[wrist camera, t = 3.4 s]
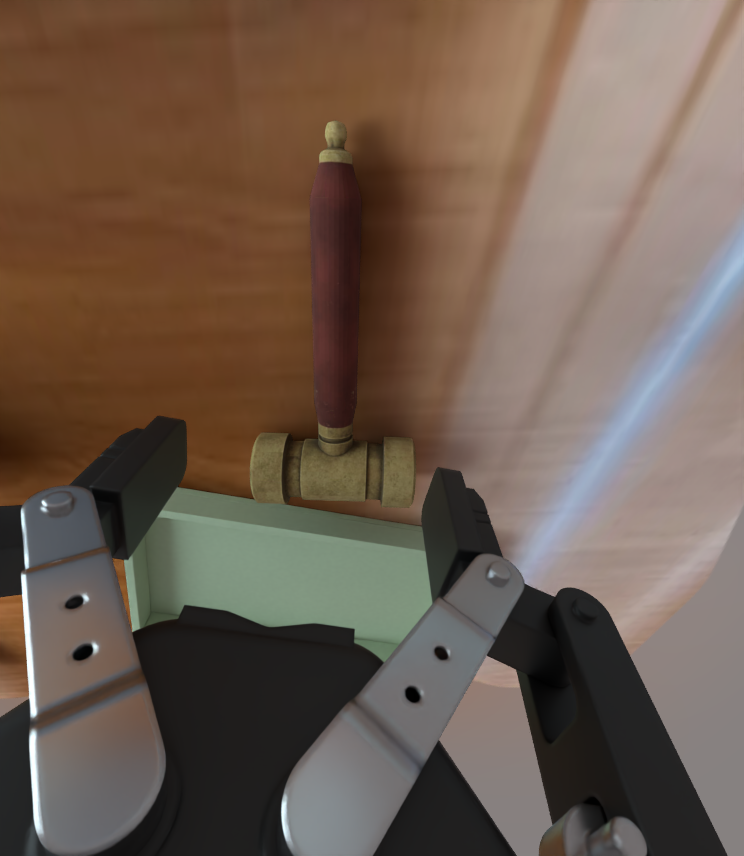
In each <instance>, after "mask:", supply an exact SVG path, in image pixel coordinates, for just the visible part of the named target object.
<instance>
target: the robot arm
mask: <svg viewBox="0 0 744 856" xmlns="http://www.w3.org/2000/svg"><path fill="white" fill-rule="evenodd" d="M186 465H187V429H186V422H185V421H184V420H180V419H175V418H169V417H164V416H157V417H156V418H155V419H154V420H153V421H152V422H151V423H150V424H149V425H148V426H147V427H146V428H145V429H139V428H136V429H134V430H131V431H129V432H127V433H125V434H123V435H121V436H119V437H118V438H117V439H116V440H115V441H114V442H113V443H112V444H111V445H110V447H109V448H107V449H106V450H105V451H104V452H103V453H102V454H101V456H100V457H98V458H97V459H96V460H95V461H93V462H92V463H91V464H90V465H89V466H88V467H87V468H86V469H85V470H84V471H83V472H82V473H81V474H80V475H79V476H78V477H77V478H76V479H75V480H74V481H73V482H72V483H71V484H70V485H66V486H57V487H52V488H48V489H45V490H43V491H40V492H38V493H36V494H34V495H33V496H31V497H30V498H29V499H28V500H27V501H26V502H25V503H24V504H23V505H15V506H0V597H5V596H13V595H23V610H24V624H25V639H26V653H27V668H28V682H29V697H30V698H29V699H28V700H26V701H24V702H23V703H21V704H20V705H18V706H17V707H15V708H14V709H12V710H11V711H9V712H8V713H6V714H5V715H3V716H1V717H0V856H517V855H516V854H515V852H514V851H513V850H512V848H511V847H510V845H509V844H508V842H507V841H506V839H505V838H504V836H503V835H502V833H501V832H500V830H499V829H498V827H497V826H496V824H495V823H494V821H493V820H492V818H491V817H490V815H489V814H488V812H487V811H486V809H485V808H484V806H483V805H482V803H481V802H480V800H479V799H478V797H477V796H476V794H475V793H474V792H473V790H472V789H471V787H470V786H469V784H468V783H467V781H466V780H465V778H464V777H463V775H462V774H461V772H460V771H459V769H458V768H457V766H456V765H455V763H454V762H453V760H452V759H451V757H450V756H449V754H448V753H447V751H446V750H445V748H444V747H443V745H442V744H441V742H440V741H439V738H440V737H441V735H442V733H443V731H444V729H445V728H446V726H447V724H448V722H449V720H450V719H451V717H452V715H453V714H454V712H455V710H456V708H457V707H458V704H459V703H460V701H461V699H462V698H463V696H464V694H465V692H466V691H467V689H468V687H469V686H470V684H471V682H472V680H473V678H474V677H475V675H476V673H477V671H478V670H479V668H480V666H481V664H482V663H483V661H484V659H485V657H486V656H489V657H491V658H493V659H495V660H497V661H499V662H501V663H504V664H506V665H508V666H510V667H512V668H514V669H516V671H517V675H518V679H519V684H520V688H521V692H522V696H523V701H524V705H525V709H526V713H527V718H528V722H529V726H530V730H531V735H532V739H533V743H534V748H535V752H536V756H537V760H538V765H539V769H540V773H541V778H542V782H543V786H544V790H545V795H546V799H547V803H548V807H549V811H550V816H551V820H552V826H551V827H550V828H549V829H548V830H547V831H546V832H545V834H544V835H543V837H542V840H541V842H540V847H539V856H727V854H726V852H725V849H724V847H723V845H722V843H721V841H720V839H719V837H718V835H717V833H716V831H715V829H714V827H713V825H712V823H711V821H710V819H709V817H708V815H707V813H706V811H705V808H704V806H703V805H702V802H701V800H700V798H699V797H698V794H697V792H696V790H695V788H694V786H693V784H692V782H691V780H690V778H689V776H688V774H687V772H686V770H685V767H684V765H683V763H682V762H681V759H680V757H679V755H678V753H677V751H676V749H675V747H674V745H673V743H672V741H671V739H670V737H669V735H668V733H667V731H666V729H665V727H664V725H663V723H662V720H661V718H660V716H659V714H658V712H657V710H656V708H655V706H654V704H653V702H652V700H651V698H650V696H649V694H648V692H647V690H646V688H645V686H644V684H643V682H642V679H641V678H640V675H639V673H638V671H637V670H636V667H635V665H634V663H633V661H632V659H631V657H630V655H629V653H628V651H627V649H626V647H625V645H624V643H623V640H622V638H621V636H620V634H619V632H618V630H617V628H616V626H615V624H614V622H613V620H612V618H611V616H610V614H609V612H608V611H607V610H606V608H605V607H604V606H603V605H602V604H601V603H600V602H599V601H598V600H597V599H595V598H594V597H593V596H591V595H590V594H588V593H586V592H584V591H582V590H579V589H576V588H563V589H561V590H560V591H559V592H558V593H557V595H556V596H555V597H553V596H551V595H549V594H546V593H544V592H542V591H539V590H537V589H535V588H532V587H530V586H528V585H527V584H525V583H524V579H523V577H522V575H521V573H520V572H519V570H518V569H517V568H516V567H515V566H514V565H513V564H512V563H511V562H509V561H508V560H506V559H504V558H503V556H502V553H501V550H500V547H499V544H498V541H497V539H496V536H495V533H494V530H493V527H492V525H491V521H490V518H489V515H487V513H488V512H487V509H486V506H485V503H484V501H483V499H482V498H481V497H480V496H479V495H478V493H477V492H476V491H475V490H474V489H470V488H466V486H465V483H464V479H463V476H462V473H461V472H460V471H456V470H450V469H445V468H440V467H438V468H437V469H436V471H435V473H434V476H433V478H432V481H431V484H430V487H429V490H428V493H427V495H426V498H425V501H424V504H423V508H422V516H421V522H422V530H423V537H424V545H425V552H426V560H427V567H428V574H429V582H430V589H431V597H432V605H431V606H430V607H429V609H428V610H427V611H426V612H425V614H424V615H423V616H422V617H421V618H420V620H419V621H418V622H417V623H416V625H415V626H414V627H413V628H412V629H411V631H410V632H409V633H408V634H407V636H406V637H405V638H404V639H403V640H402V642H401V643H400V644H399V645H398V647H397V648H396V649H395V650H394V651H393V653H392V654H391V655H390V656H389V658H388V659H387V660H386V661H385V662H383V661H382V660H381V659H380V658H379V657H378V656H377V655H375V654H374V653H372V652H371V651H370V650H368V649H366V648H365V647H363V646H361V645H359V644H356V643H354V637H355V629H353V628H346V627H339V626H332V625H325V624H318V623H309V624H299V625H289V626H279V627H267V626H264V625H261V624H259V623H256V622H254V621H251V620H249V619H247V618H244V617H242V616H239V615H237V614H234V613H232V612H229V611H226V610H219V609H212V608H205V607H197V606H190V605H184V607H183V609H182V611H181V613H180V616H179V618H178V619H170V620H165V621H160V622H157V623H154V624H151V625H148V626H145V627H143V628H140V629H138V630H136V631H134V632H132V631H131V627H130V624H129V620H128V616H127V612H126V609H125V605H124V601H123V597H122V594H121V590H120V586H119V582H118V579H117V575H116V571H115V567H114V564H113V560H112V558H116V559H122V560H129V558H130V557H131V556H132V554H133V553H134V551H135V550H136V548H137V547H138V545H139V544H140V542H141V541H142V539H143V538H144V536H145V535H146V533H147V532H148V530H149V529H150V527H151V526H152V524H153V523H154V521H155V520H156V518H157V517H158V515H159V514H160V512H161V511H162V509H163V508H164V506H165V505H166V503H167V502H168V500H169V499H170V497H171V496H172V494H173V493H174V491H175V490H176V488H177V487H178V485H179V484H180V482H181V481H182V479H183V476H184V474H185V470H186Z"/></svg>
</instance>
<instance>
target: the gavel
mask: <svg viewBox="0 0 744 856" xmlns="http://www.w3.org/2000/svg"><path fill="white" fill-rule="evenodd" d="M325 137H326V140H327V143H328V148H327V149H325V150H323V151H322V152H321V153H320V155H319V166H318V170H317V174H316V177H315V181H314V185H313V188H312V192H311V196H310V227H311V271H312V315H313V359H314V403H315V408H316V413H317V418H318V431H319V435H318V439H305V441H293V437H292V435H291V433H266V432H262V433H260V435H259V436H258V437H257V439H256V441H255V443H254V446H253V450H252V456H251V464H250V485H251V491H252V495H253V497H254V499H255V501H256V502H257V503H269V504H287V503H288V501H289V499H290V497H302V499H303V500H330V501H361V502H365V500H366V499H376V500H380V502H381V507H396V508H409V507H410V506H411V505H412V503H413V500H414V493H415V482H416V453H415V445H414V442H413V440H412V439H411V438H410V437H383V441H382V444H375V443H368V442H367V441H358V440H353V435H352V432H353V418H354V413H355V408H356V404H357V369H358V329H359V290H360V250H361V211H362V200H361V196H360V192H359V188H358V184H357V181H356V177H355V173H354V169H353V165H352V160H353V158H352V156H351V153H349V152H348V151H346V150H345V149H344V144H345V141H346V138H347V131H346V127H345V125H344V124H343V123H341V122H339V121H332V122H329V123H328V124H327V126H326V130H325Z"/></svg>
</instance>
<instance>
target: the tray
mask: <svg viewBox="0 0 744 856" xmlns="http://www.w3.org/2000/svg"><path fill="white" fill-rule="evenodd" d="M124 564H125V572H126V581H127V589H128V597H129V606H130V614H131V622H132V631H133V632H134V631H136V630H138V629H140V628H143V627H145V626H148V625H151V624H154V623H157V622H160V621H165V620H170V619H178V618H179V616H180V613H181V611H182V609H183V607H184V605H190V606H197V607H205V608H212V609H219V610H226V611H229V612H232V613H234V614H237V615H239V616H242V617H244V618H247V619H249V620H251V621H254V622H256V623H259V624H261V625H264V626H267V627H279V626H289V625H299V624H309V623H318V624H325V625H332V626H339V627H346V628H353V629H355V637H354V643H356V644H359V645H361V646H363V647H365V648H366V649H368V650H370V651H371V652H372V653H374V654H375V655H377V656H378V657H379V658H380V659H381V660H382V661H383V662H385V661H386V660H387V659H388V658H389V656H390V655H391V654H392V653H393V651H394V650H395V649H396V648H397V647H398V645H399V644H400V643H401V642H402V640H403V639H404V638H405V637H406V636H407V634H408V633H409V632H410V631H411V629H412V628H413V627H414V626H415V625H416V623H417V622H418V621H419V620H420V618H421V617H422V616H423V615H424V614H425V612H426V611H427V610H428V609H429V607H430V606H431V605H432V597H431V589H430V582H429V574H428V567H427V560H426V552H425V545H424V537H423V530H422V527H421V526H414V525H408V524H402V523H396V522H390V521H383V520H377V519H371V518H365V517H359V516H353V515H346V514H340V513H334V512H328V511H322V510H315V509H309V508H303V507H297V506H291V505H285V504H269V503H257V502H256V501H255V500H254V499H247V498H241V497H235V496H229V495H223V494H216V493H210V492H204V491H198V490H192V489H186V488H179V487H177V488H176V490H175V491H174V493H173V494H172V496H171V497H170V499H169V500H168V502H167V503H166V505H165V506H164V508H163V509H162V511H161V512H160V514H159V515H158V517H157V518H156V520H155V521H154V523H153V524H152V526H151V527H150V529H149V530H148V532H147V533H146V535H145V536H144V538H143V539H142V541H141V542H140V544H139V545H138V547H137V548H136V550H135V551H134V553H133V554H132V556H131V557H130V558H129V560H124Z"/></svg>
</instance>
